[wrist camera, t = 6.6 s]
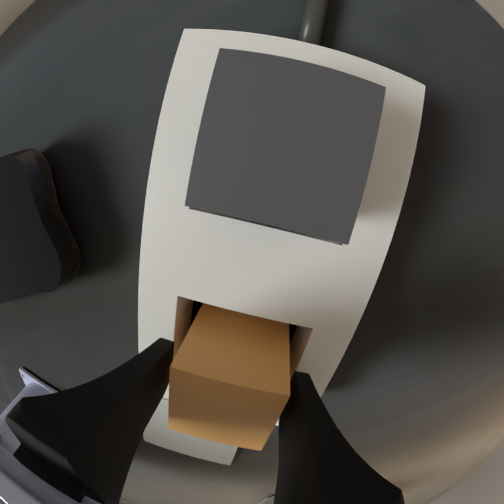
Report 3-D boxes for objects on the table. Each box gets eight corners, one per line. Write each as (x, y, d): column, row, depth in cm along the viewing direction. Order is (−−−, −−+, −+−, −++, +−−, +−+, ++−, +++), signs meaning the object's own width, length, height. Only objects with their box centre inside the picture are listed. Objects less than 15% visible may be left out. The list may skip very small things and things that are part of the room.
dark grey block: (317, 205, 12) (348, 245, 6) (229, 184, 12) (184, 205, 6) (337, 120, 11) (386, 87, 5) (248, 99, 11) (220, 48, 5)
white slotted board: (300, 392, 15) (301, 428, 13) (159, 357, 16) (140, 389, 13) (404, 9, 8) (426, -16, 5) (234, -31, 8) (224, -63, 5)
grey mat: (230, 461, 19) (230, 465, 19) (145, 436, 20) (144, 440, 19) (249, 416, 17) (248, 421, 16) (140, 384, 17) (137, 389, 16)
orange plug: (268, 364, 15) (261, 450, 9) (201, 348, 15) (168, 428, 9) (288, 307, 14) (290, 395, 8) (210, 288, 14) (169, 366, 8)
